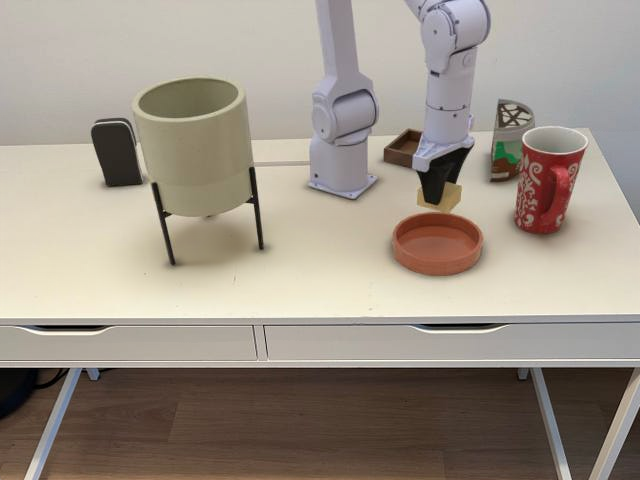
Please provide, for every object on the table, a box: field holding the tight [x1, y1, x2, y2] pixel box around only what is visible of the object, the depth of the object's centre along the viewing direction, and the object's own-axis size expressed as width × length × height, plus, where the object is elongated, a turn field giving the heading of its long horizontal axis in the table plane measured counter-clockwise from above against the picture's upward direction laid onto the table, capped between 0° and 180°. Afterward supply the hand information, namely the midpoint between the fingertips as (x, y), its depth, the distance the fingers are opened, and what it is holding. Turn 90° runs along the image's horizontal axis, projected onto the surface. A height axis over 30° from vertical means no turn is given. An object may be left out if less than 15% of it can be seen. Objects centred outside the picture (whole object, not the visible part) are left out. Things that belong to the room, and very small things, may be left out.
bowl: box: [391, 211, 484, 276], centre depth 98 cm, size 13×13×2 cm
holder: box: [382, 128, 423, 169], centre depth 119 cm, size 9×9×2 cm
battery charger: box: [90, 117, 144, 187], centre depth 116 cm, size 7×4×11 cm, turn 92°
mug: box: [513, 125, 590, 235], centre depth 97 cm, size 13×9×14 cm
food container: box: [489, 98, 536, 183], centre depth 111 cm, size 12×6×10 cm, turn 168°
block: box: [416, 182, 463, 214], centre depth 94 cm, size 5×4×2 cm
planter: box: [131, 74, 265, 266], centre depth 96 cm, size 15×16×23 cm
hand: (439, 195), depth 94 cm, fingers closed on block, 4 cm apart
